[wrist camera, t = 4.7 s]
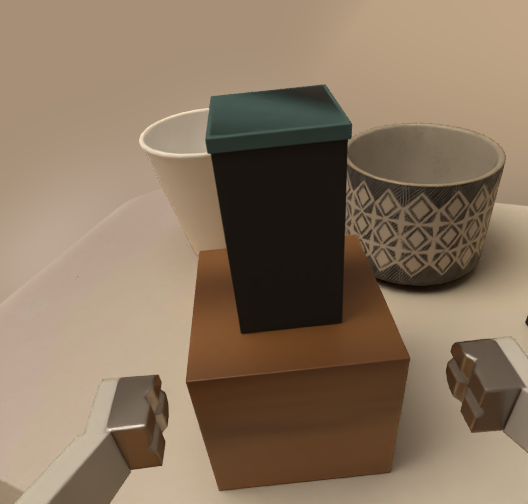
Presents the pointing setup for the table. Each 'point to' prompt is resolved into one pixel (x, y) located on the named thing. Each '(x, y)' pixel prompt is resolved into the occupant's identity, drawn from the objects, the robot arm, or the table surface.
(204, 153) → the cup
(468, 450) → the table surface
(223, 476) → the block
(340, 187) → the pad block
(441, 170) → the planter
